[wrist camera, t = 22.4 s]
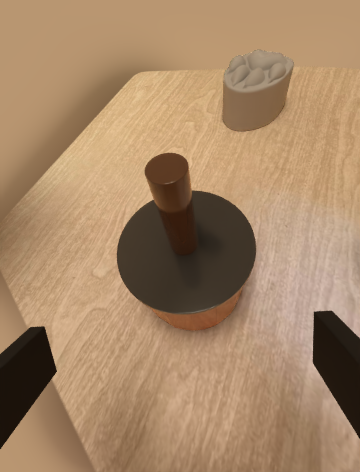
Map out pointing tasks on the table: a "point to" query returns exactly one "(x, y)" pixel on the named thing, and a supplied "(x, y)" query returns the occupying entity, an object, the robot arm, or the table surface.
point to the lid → (184, 244)
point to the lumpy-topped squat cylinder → (255, 89)
